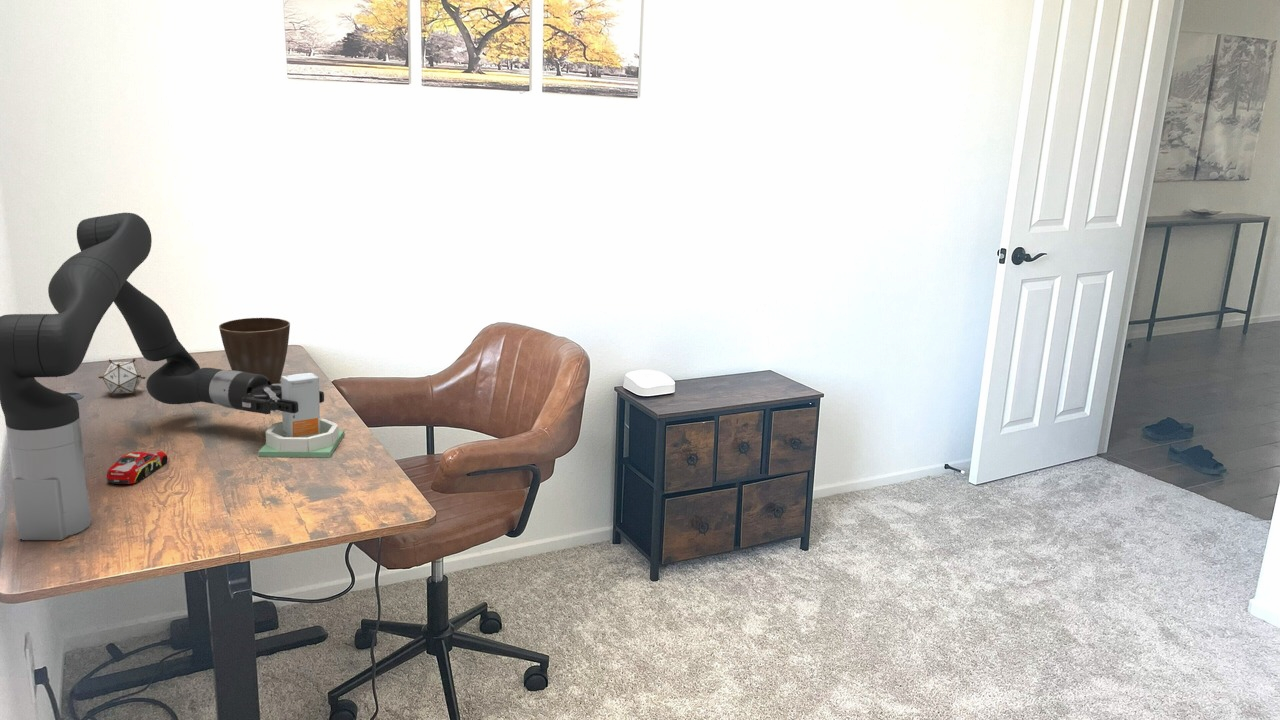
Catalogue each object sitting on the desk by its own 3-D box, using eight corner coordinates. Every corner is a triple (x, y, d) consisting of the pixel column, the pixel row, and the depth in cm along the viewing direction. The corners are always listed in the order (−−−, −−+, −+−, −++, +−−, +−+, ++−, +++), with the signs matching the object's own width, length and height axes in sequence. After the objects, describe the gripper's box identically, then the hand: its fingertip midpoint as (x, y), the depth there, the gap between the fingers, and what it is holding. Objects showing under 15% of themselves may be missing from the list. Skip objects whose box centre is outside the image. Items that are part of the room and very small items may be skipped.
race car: (144, 460, 168) (142, 439, 167) (173, 462, 168) (171, 441, 167) (100, 487, 156) (98, 465, 155) (131, 489, 155) (129, 466, 154)
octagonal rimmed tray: (329, 457, 173) (329, 439, 172) (258, 456, 172) (257, 439, 171) (344, 434, 186) (343, 418, 185) (278, 434, 184) (277, 417, 183)
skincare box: (290, 441, 175) (287, 381, 172) (282, 434, 178) (280, 375, 175) (321, 435, 178) (319, 377, 176) (313, 429, 182) (311, 371, 179)
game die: (128, 412, 204) (119, 386, 197) (95, 396, 205) (85, 368, 197) (157, 385, 210) (149, 358, 202) (125, 369, 211) (116, 342, 203)
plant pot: (251, 405, 201) (246, 334, 198) (209, 392, 209) (204, 324, 205) (307, 390, 214) (304, 324, 210) (266, 379, 221) (262, 314, 217)
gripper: (212, 381, 173) (284, 393, 168) (264, 364, 186) (333, 375, 181) (214, 418, 175) (286, 431, 170) (266, 399, 188) (334, 411, 183)
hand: (310, 402), depth 176 cm, fingers closed on skincare box, 7 cm apart
